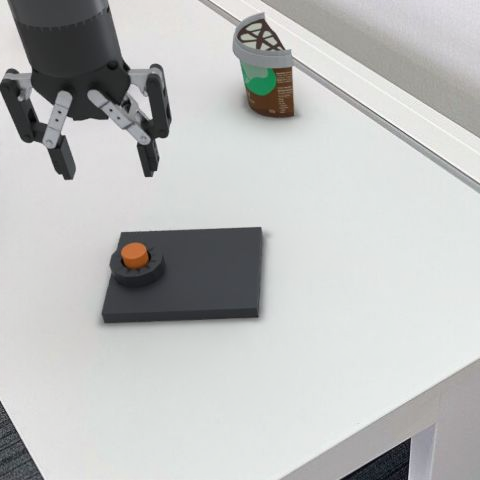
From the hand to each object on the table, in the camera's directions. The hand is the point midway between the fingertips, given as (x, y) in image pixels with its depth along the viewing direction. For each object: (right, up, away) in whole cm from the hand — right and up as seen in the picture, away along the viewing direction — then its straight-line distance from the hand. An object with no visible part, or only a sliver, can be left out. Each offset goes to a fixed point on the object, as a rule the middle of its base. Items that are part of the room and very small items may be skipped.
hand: (110, 173), depth 73 cm
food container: (+11, +17, +34) cm, 40 cm away
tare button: (0, -8, +9) cm, 11 cm away
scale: (+5, -9, +10) cm, 15 cm away
